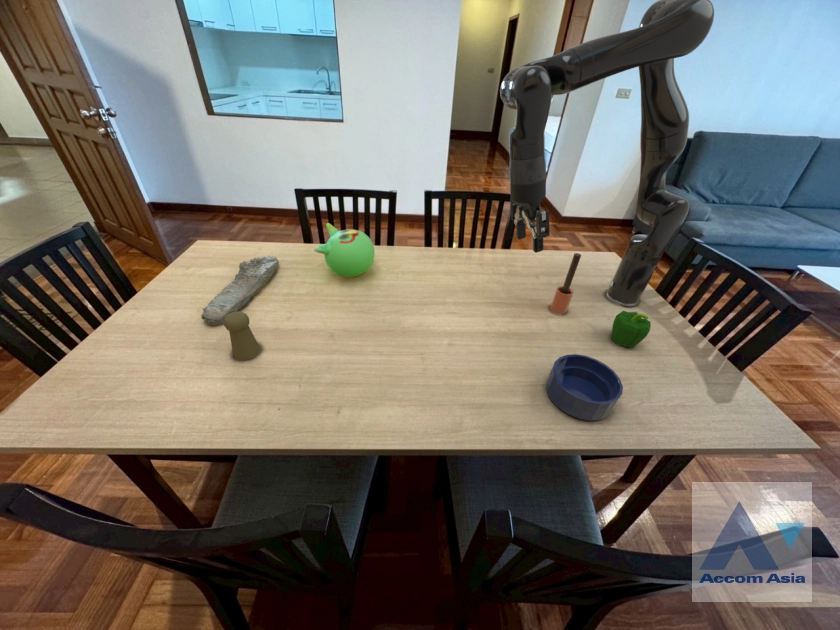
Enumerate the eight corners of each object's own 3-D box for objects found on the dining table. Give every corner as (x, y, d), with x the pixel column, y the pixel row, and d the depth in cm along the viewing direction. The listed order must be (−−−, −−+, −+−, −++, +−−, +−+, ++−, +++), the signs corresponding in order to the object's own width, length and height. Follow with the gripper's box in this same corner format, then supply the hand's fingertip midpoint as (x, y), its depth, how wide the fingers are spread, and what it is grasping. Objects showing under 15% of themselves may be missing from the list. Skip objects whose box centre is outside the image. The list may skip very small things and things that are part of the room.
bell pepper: (599, 335, 97) (612, 306, 91) (620, 329, 100) (635, 300, 94) (623, 355, 91) (640, 325, 85) (646, 348, 94) (663, 318, 88)
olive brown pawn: (265, 347, 87) (255, 311, 80) (248, 363, 82) (235, 326, 76) (245, 340, 88) (233, 305, 82) (227, 356, 84) (213, 320, 77)
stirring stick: (558, 306, 106) (577, 252, 96) (563, 309, 105) (582, 255, 94) (554, 307, 106) (572, 253, 95) (558, 311, 105) (577, 256, 94)
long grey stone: (193, 327, 93) (229, 334, 93) (187, 312, 90) (224, 319, 89) (258, 259, 120) (286, 264, 119) (255, 246, 116) (284, 250, 116)
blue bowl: (577, 365, 87) (585, 347, 83) (626, 408, 77) (637, 390, 73) (532, 383, 82) (539, 364, 78) (578, 431, 72) (588, 413, 68)
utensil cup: (558, 304, 108) (565, 284, 104) (569, 312, 105) (577, 293, 101) (546, 307, 107) (553, 288, 102) (557, 316, 103) (565, 296, 99)
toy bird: (371, 287, 111) (369, 244, 102) (317, 284, 111) (311, 241, 102) (377, 259, 125) (376, 220, 116) (330, 257, 125) (325, 217, 116)
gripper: (561, 179, 71) (559, 251, 80) (527, 165, 82) (529, 230, 92) (527, 189, 70) (529, 261, 80) (497, 174, 82) (502, 238, 91)
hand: (529, 244), depth 86 cm, fingers open, 8 cm apart
